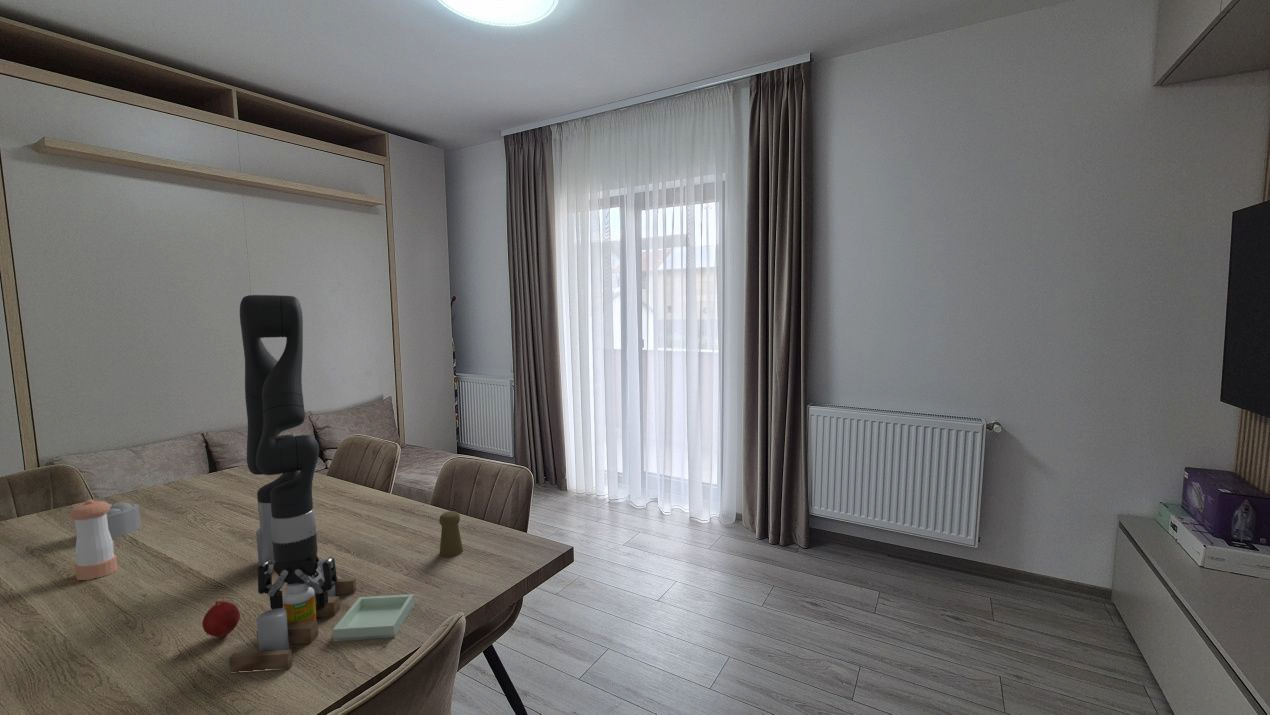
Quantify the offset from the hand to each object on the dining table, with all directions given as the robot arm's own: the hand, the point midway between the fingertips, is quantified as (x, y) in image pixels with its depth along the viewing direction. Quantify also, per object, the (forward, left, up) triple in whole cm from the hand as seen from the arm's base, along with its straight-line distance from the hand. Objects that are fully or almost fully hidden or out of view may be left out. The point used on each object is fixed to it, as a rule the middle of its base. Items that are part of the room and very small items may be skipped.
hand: (300, 609), depth 107 cm
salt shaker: (-65, +29, -4) cm, 71 cm away
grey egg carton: (-84, +55, -4) cm, 101 cm away
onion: (-14, -2, -4) cm, 15 cm away
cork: (+22, +31, -4) cm, 38 cm away
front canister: (0, -9, -4) cm, 10 cm away
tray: (+15, 0, -4) cm, 15 cm away
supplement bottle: (0, 0, -4) cm, 4 cm away
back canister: (0, +9, -4) cm, 10 cm away
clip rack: (0, 0, -4) cm, 4 cm away
